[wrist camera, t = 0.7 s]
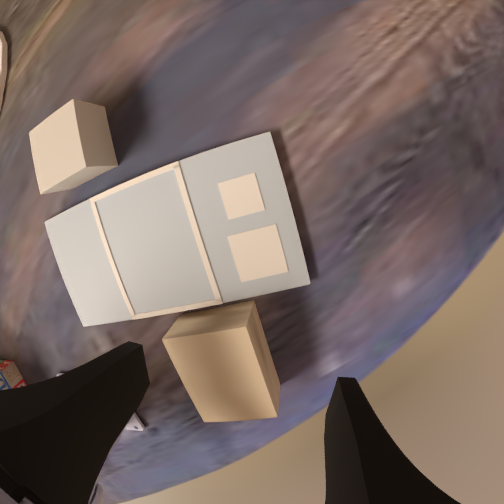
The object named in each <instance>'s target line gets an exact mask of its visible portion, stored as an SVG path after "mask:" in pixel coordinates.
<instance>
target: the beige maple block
mask: <svg viewBox="0 0 504 504" xmlns="http://www.w3.org/2000/svg"><path fill="white" fill-rule="evenodd" d="M29 135H30V143H31V149H32V155H33V161H34V166H35V172H36V177H37V181H38V186H39V190H40V194H45V193H50V192H56V191H62V190H68V189H73V188H75V187H77V186H79V185H81V184H83V183H85V182H86V181H88V180H90V179H92V178H94V177H96V176H98V175H100V174H102V173H104V172H106V171H108V170H110V169H112V168H114V167H117V166H118V163H117V159H116V155H115V151H114V147H113V143H112V138H111V134H110V129H109V125H108V120H107V115H106V110H105V107H104V106H100V105H96V104H92V103H88V102H84V101H80V100H76V99H72V100H71V101H70V102H68V103H67V104H65V105H64V106H63V107H61V108H60V109H58V110H57V111H56V112H54V113H53V114H52V115H50V116H49V117H48V118H46V119H45V120H44V121H43V122H41V123H40V124H39V125H38V126H36V127H35V128H34V129H33V130H32V131H30V132H29Z"/></svg>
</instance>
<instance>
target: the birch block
mask: <svg viewBox="0 0 504 504" xmlns="http://www.w3.org/2000/svg"><path fill="white" fill-rule="evenodd" d="M162 341H163V343H164V345H165V347H166V350H167V352H168V354H169V356H170V358H171V360H172V362H173V364H174V366H175V368H176V370H177V372H178V374H179V376H180V378H181V380H182V382H183V384H184V386H185V388H186V390H187V392H188V394H189V396H190V398H191V399H192V401H193V403H194V405H195V407H196V409H197V410H198V412H199V414H200V416H201V417H202V419H203V421H204V422H225V421H241V420H254V419H264V418H273V417H278V407H279V395H280V382H279V379H278V376H277V372H276V369H275V366H274V363H273V360H272V356H271V353H270V350H269V347H268V344H267V340H266V337H265V334H264V331H263V328H262V324H261V321H260V318H259V315H258V311H257V308H256V305H255V302H254V300H251V301H247V302H242V303H237V304H232V305H226V306H221V307H216V308H211V309H205V310H200V311H195V312H189V313H183V314H180V316H179V317H178V318H177V320H176V321H175V322H174V324H173V325H172V326H171V328H170V329H169V330H168V332H167V333H166V334H165V336H164V337H163V338H162Z"/></svg>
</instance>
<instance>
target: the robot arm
mask: <svg viewBox="0 0 504 504" xmlns="http://www.w3.org/2000/svg"><path fill="white" fill-rule="evenodd" d="M149 384H150V382H149V378H148V373H147V368H146V363H145V358H144V352H143V347H142V345H141V344H137V343H133V342H130V341H129V342H126V343H124V344H122V345H120V346H118V347H116V348H114V349H113V350H111V351H109V352H107V353H105V354H103V355H101V356H99V357H97V358H95V359H93V360H92V361H90V362H88V363H86V364H84V365H82V366H79V367H77V368H75V369H73V370H71V371H68V372H66V373H58V374H57V375H56V377H54V378H51V379H48V380H45V381H42V382H39V383H35V384H31V385H27V386H22V387H18V388H12V389H6V390H0V504H102V502H103V490H102V487H101V485H100V484H98V482H99V480H100V478H101V476H100V475H99V473H100V470H101V468H102V466H103V464H104V462H105V460H106V458H107V456H108V455H109V453H110V451H111V450H112V448H113V446H114V445H115V443H116V442H117V440H118V438H119V437H120V435H121V434H122V432H123V430H124V429H128V430H138V431H143V430H144V429H145V427H144V425H143V424H142V422H141V421H140V419H139V418H138V416H137V415H136V413H135V411H136V409H137V408H138V406H139V405H140V403H141V401H142V399H143V397H144V395H145V393H146V390H147V388H148V386H149ZM324 444H325V445H324V446H325V469H326V500H325V504H460V503H459V502H457V501H456V500H454V499H453V498H451V497H450V496H448V495H447V494H446V493H444V492H443V491H442V490H440V489H439V488H438V487H436V486H435V485H434V484H433V483H432V482H431V481H430V480H429V479H428V478H426V477H425V476H424V475H423V474H422V473H421V472H420V471H419V470H418V469H417V468H416V467H415V466H414V465H413V464H412V463H411V462H410V460H409V459H408V458H407V457H406V456H405V455H404V454H403V452H402V451H401V450H400V449H399V447H398V446H397V445H396V443H395V442H394V441H393V439H392V438H391V437H390V435H389V434H388V432H387V431H386V429H385V428H384V426H383V425H382V423H381V422H380V420H379V419H378V417H377V416H376V414H375V412H374V411H373V409H372V407H371V405H370V404H369V402H368V400H367V398H366V397H365V395H364V393H363V391H362V389H361V387H360V386H359V384H358V382H357V380H356V379H355V378H348V377H338V378H337V382H336V385H335V388H334V391H333V394H332V397H331V400H330V403H329V406H328V409H327V412H326V418H325V433H324Z"/></svg>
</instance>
